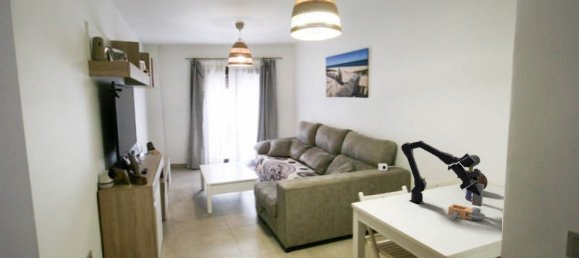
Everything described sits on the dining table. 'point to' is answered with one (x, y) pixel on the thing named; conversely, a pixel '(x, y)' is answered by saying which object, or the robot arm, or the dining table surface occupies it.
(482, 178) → the wooden sphere
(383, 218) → the dining table surface
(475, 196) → the dark grey long block
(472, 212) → the bracket head
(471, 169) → the rubber mallet
